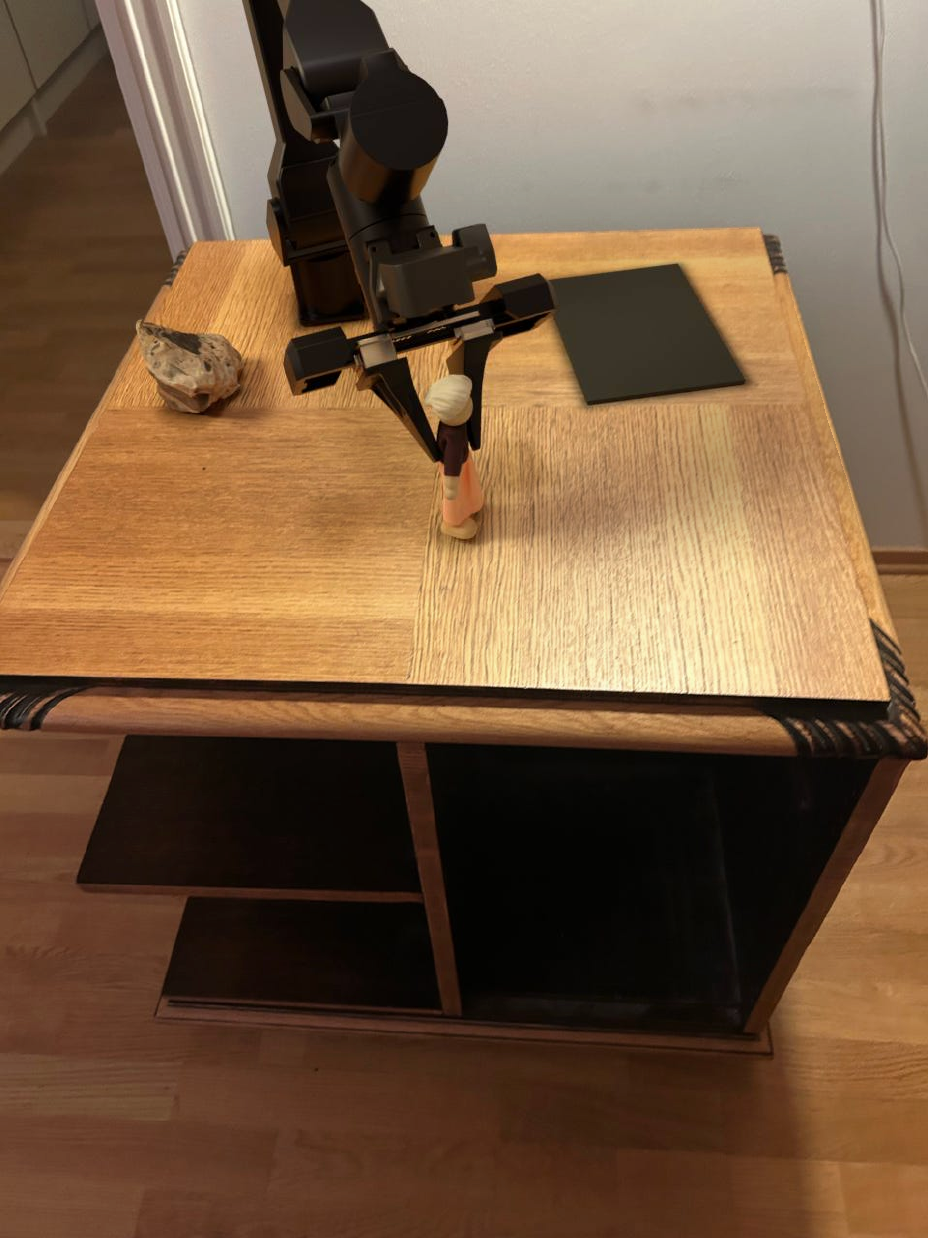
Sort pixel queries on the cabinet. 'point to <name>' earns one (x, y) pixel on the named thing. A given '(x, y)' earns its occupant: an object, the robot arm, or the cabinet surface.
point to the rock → (189, 366)
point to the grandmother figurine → (455, 455)
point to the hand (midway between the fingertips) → (456, 456)
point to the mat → (640, 335)
